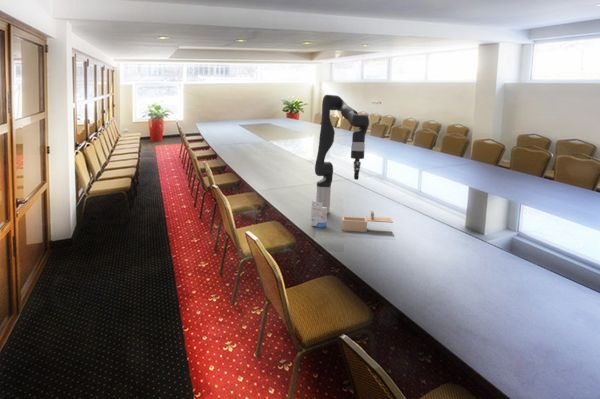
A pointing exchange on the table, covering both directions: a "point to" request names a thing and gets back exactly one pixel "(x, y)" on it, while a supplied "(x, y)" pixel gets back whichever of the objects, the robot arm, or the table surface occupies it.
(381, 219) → the lid
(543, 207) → the table surface
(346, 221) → the open wooden box
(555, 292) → the table surface
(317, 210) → the ink box
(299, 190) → the table surface
